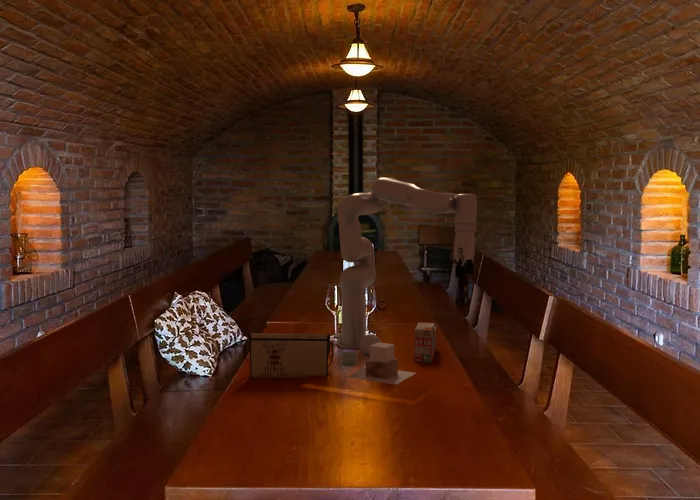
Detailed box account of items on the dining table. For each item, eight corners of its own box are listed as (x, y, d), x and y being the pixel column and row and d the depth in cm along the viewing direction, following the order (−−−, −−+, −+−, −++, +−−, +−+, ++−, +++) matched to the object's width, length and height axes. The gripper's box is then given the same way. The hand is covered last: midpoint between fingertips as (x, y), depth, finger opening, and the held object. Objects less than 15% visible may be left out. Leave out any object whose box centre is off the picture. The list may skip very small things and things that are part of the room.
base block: (365, 376, 243) (365, 361, 242) (376, 370, 250) (376, 356, 249) (387, 379, 239) (387, 364, 238) (397, 373, 246) (397, 358, 246)
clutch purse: (333, 374, 250) (334, 330, 248) (333, 379, 243) (333, 335, 241) (245, 373, 250) (245, 329, 248) (242, 378, 243) (242, 334, 241)
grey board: (346, 380, 242) (346, 376, 242) (368, 369, 256) (368, 366, 256) (396, 388, 233) (396, 384, 233) (416, 376, 247) (416, 372, 247)
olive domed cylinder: (339, 368, 257) (339, 354, 257) (346, 365, 261) (346, 351, 261) (351, 370, 255) (352, 355, 254) (358, 366, 259) (358, 352, 259)
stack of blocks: (420, 348, 288) (420, 317, 287) (436, 349, 287) (437, 318, 285) (413, 362, 267) (414, 328, 266) (431, 363, 266) (432, 329, 265)
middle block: (369, 360, 243) (369, 345, 242) (377, 357, 248) (377, 342, 247) (386, 363, 240) (386, 348, 239) (393, 359, 245) (394, 344, 245)
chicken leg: (362, 368, 261) (372, 347, 259) (354, 346, 278) (364, 327, 276) (382, 375, 263) (393, 356, 262) (374, 354, 280) (383, 335, 279)
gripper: (463, 226, 275) (462, 272, 276) (447, 229, 259) (446, 277, 261) (483, 227, 271) (481, 273, 273) (467, 230, 256) (466, 279, 258)
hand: (464, 275), depth 267 cm, fingers open, 9 cm apart
